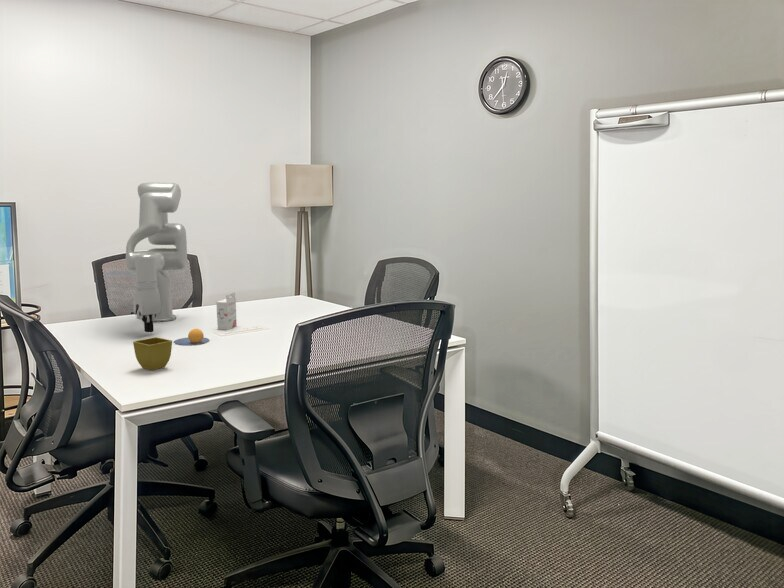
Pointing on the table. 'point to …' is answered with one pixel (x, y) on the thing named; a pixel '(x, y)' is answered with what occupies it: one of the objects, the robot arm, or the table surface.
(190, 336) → the ball
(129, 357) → the table surface
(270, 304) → the table surface
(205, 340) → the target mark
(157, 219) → the robot arm
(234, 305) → the ink cartridge box
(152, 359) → the flower pot
